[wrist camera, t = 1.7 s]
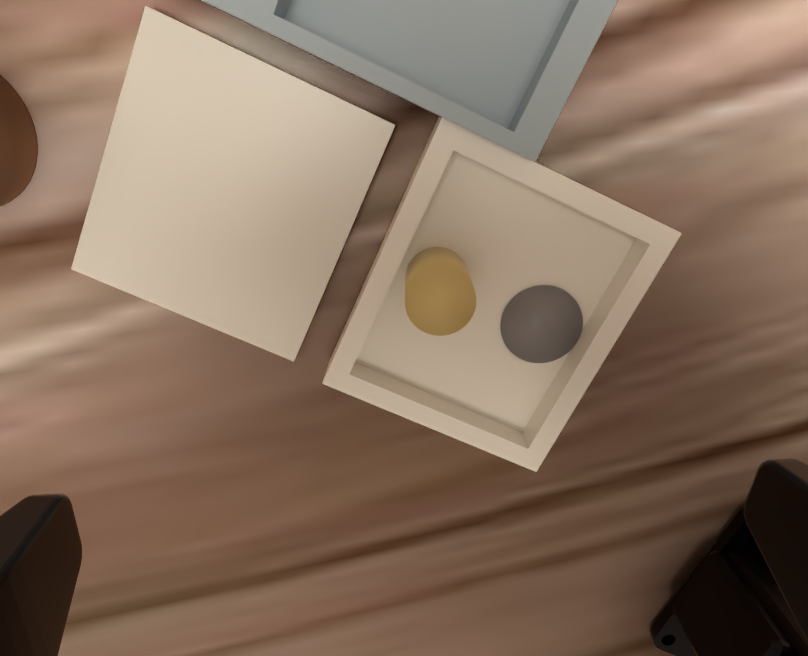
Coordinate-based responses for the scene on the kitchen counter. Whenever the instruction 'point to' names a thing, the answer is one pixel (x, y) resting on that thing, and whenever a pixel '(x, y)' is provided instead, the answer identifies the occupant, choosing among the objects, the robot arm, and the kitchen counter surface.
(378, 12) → the socket board
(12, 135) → the walnut peg
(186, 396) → the kitchen counter surface
